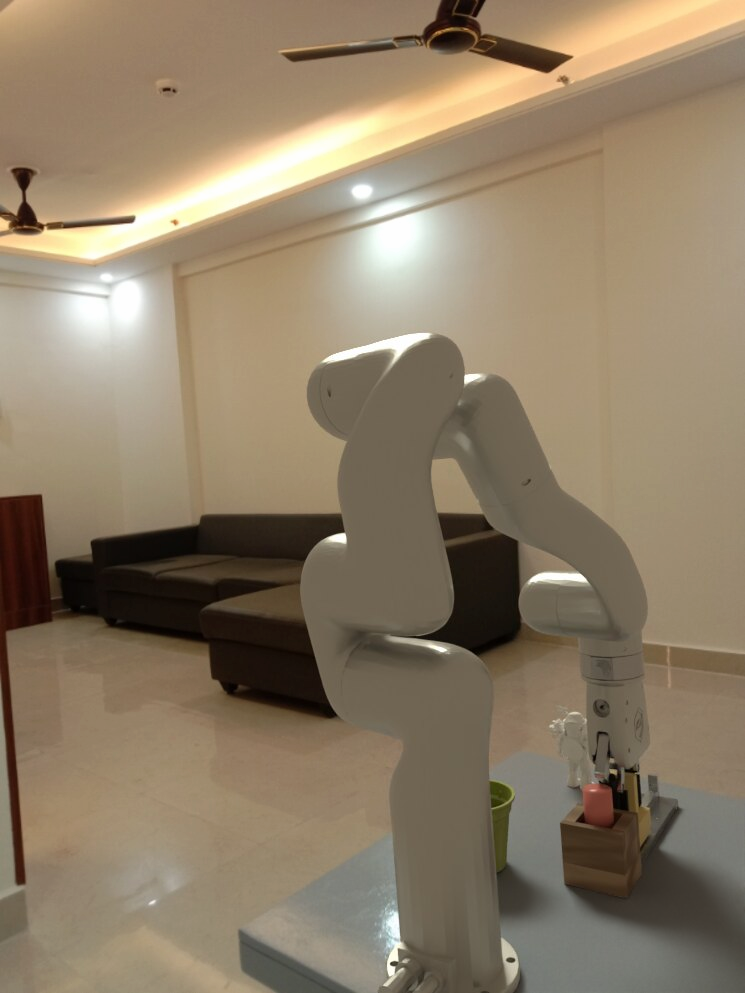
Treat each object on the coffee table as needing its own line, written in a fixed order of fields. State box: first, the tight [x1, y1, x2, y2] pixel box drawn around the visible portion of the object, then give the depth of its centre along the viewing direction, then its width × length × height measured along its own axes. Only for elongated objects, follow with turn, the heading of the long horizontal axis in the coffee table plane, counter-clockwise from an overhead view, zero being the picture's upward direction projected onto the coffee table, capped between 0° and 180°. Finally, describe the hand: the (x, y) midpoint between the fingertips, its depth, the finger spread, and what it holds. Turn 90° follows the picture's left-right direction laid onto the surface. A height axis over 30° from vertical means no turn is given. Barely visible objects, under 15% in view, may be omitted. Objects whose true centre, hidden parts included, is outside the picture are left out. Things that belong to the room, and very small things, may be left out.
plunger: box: [582, 783, 614, 829], centre depth 90 cm, size 3×3×5 cm
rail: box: [640, 773, 679, 867], centre depth 101 cm, size 19×6×4 cm, turn 146°
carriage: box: [609, 769, 651, 847], centre depth 97 cm, size 5×5×8 cm
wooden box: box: [559, 802, 643, 899], centre depth 90 cm, size 6×7×7 cm
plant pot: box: [489, 779, 516, 874], centre depth 95 cm, size 9×9×9 cm
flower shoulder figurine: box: [548, 703, 596, 791], centre depth 116 cm, size 9×4×12 cm, turn 39°
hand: (622, 811), depth 97 cm, fingers open, 4 cm apart
